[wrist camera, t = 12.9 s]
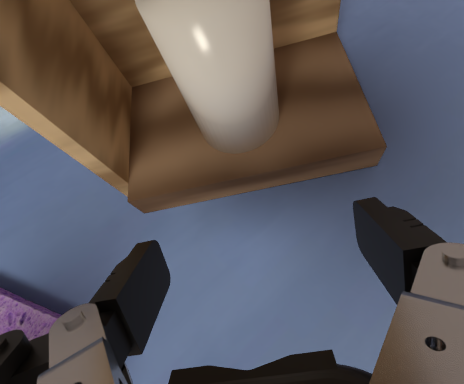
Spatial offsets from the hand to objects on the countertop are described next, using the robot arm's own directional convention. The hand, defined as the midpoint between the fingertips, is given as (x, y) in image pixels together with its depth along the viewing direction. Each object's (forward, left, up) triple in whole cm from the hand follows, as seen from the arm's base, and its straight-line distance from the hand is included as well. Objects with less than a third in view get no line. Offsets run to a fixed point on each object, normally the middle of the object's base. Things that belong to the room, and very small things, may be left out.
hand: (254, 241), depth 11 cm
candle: (-10, +5, -6) cm, 12 cm away
